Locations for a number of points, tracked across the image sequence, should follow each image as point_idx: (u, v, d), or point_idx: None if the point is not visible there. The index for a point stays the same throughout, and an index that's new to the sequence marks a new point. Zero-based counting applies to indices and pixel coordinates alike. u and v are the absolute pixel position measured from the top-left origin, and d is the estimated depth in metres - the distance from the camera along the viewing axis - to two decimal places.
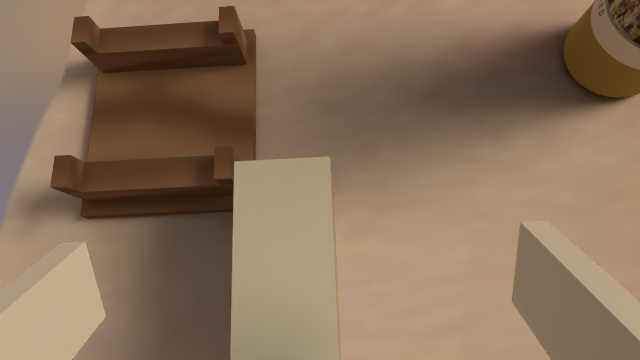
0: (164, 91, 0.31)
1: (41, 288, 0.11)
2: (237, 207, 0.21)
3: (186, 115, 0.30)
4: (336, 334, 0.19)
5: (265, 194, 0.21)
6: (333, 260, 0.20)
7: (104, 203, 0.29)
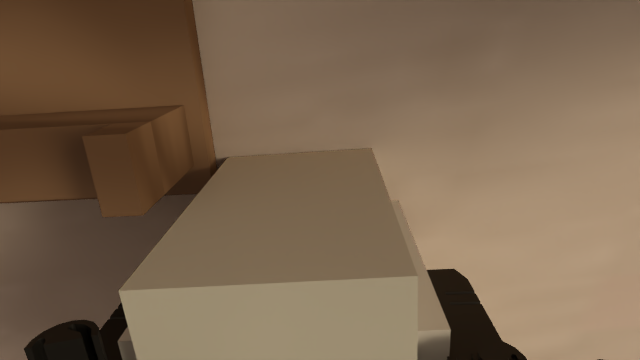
0: None
1: None
2: None
3: None
4: None
5: None
6: None
7: None
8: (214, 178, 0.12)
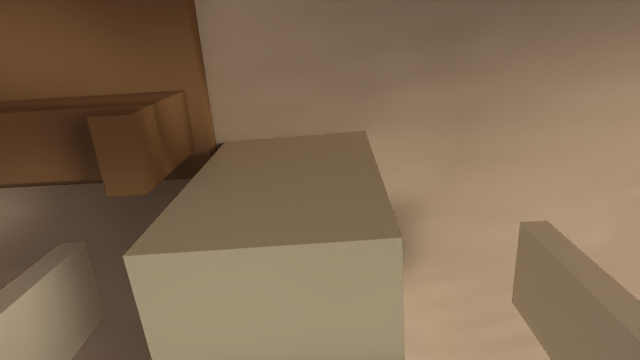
0: None
1: (41, 288, 0.11)
2: None
3: None
4: None
5: (229, 335, 0.08)
6: None
7: None
8: (212, 159, 0.13)
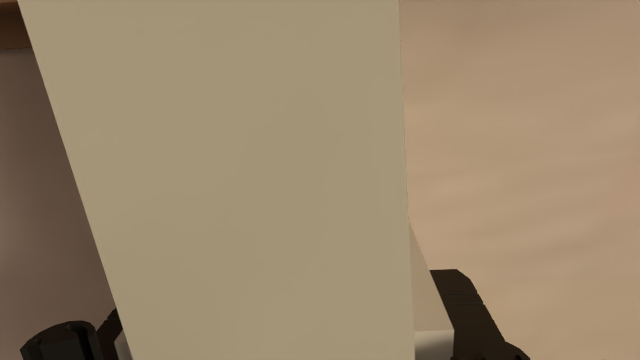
0: None
1: None
2: (78, 147, 0.06)
3: None
4: None
5: (164, 95, 0.06)
6: (408, 283, 0.07)
7: None
8: None
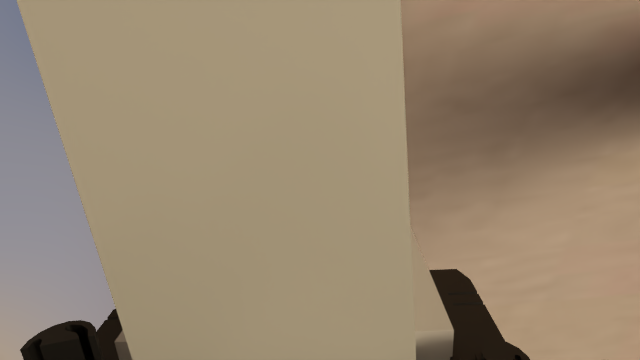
0: None
1: None
2: (77, 146, 0.06)
3: None
4: None
5: (164, 95, 0.06)
6: (409, 284, 0.07)
7: None
8: None
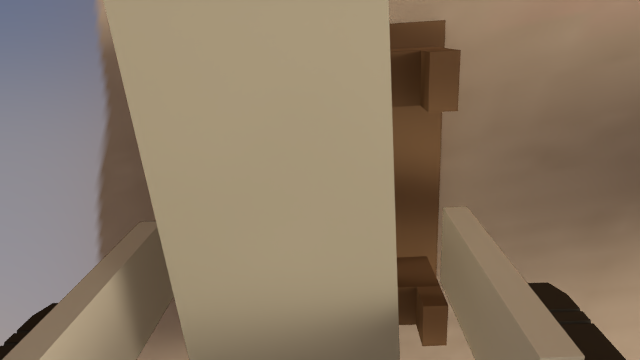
0: None
1: (135, 259, 0.12)
2: (142, 118, 0.08)
3: None
4: None
5: (210, 79, 0.08)
6: (393, 232, 0.09)
7: None
8: None
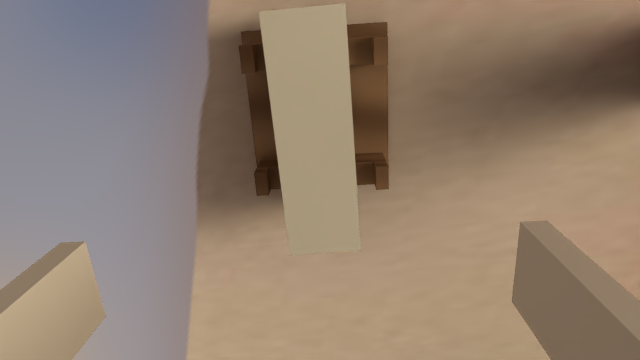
0: None
1: (40, 288, 0.11)
2: (267, 55, 0.25)
3: None
4: (353, 149, 0.27)
5: (290, 42, 0.25)
6: (350, 96, 0.26)
7: None
8: None
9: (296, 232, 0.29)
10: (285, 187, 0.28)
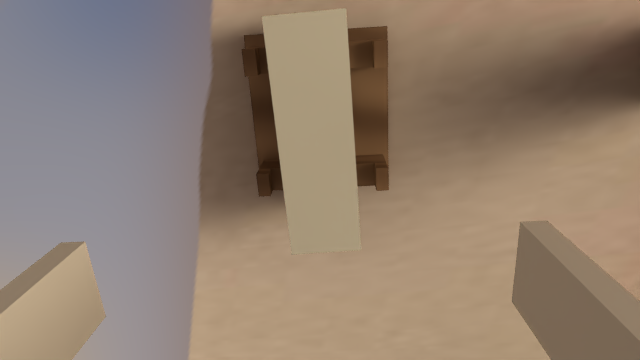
0: None
1: (41, 288, 0.11)
2: (270, 59, 0.25)
3: None
4: (354, 151, 0.27)
5: (292, 46, 0.25)
6: (351, 99, 0.26)
7: None
8: None
9: (298, 232, 0.29)
10: (287, 188, 0.28)
